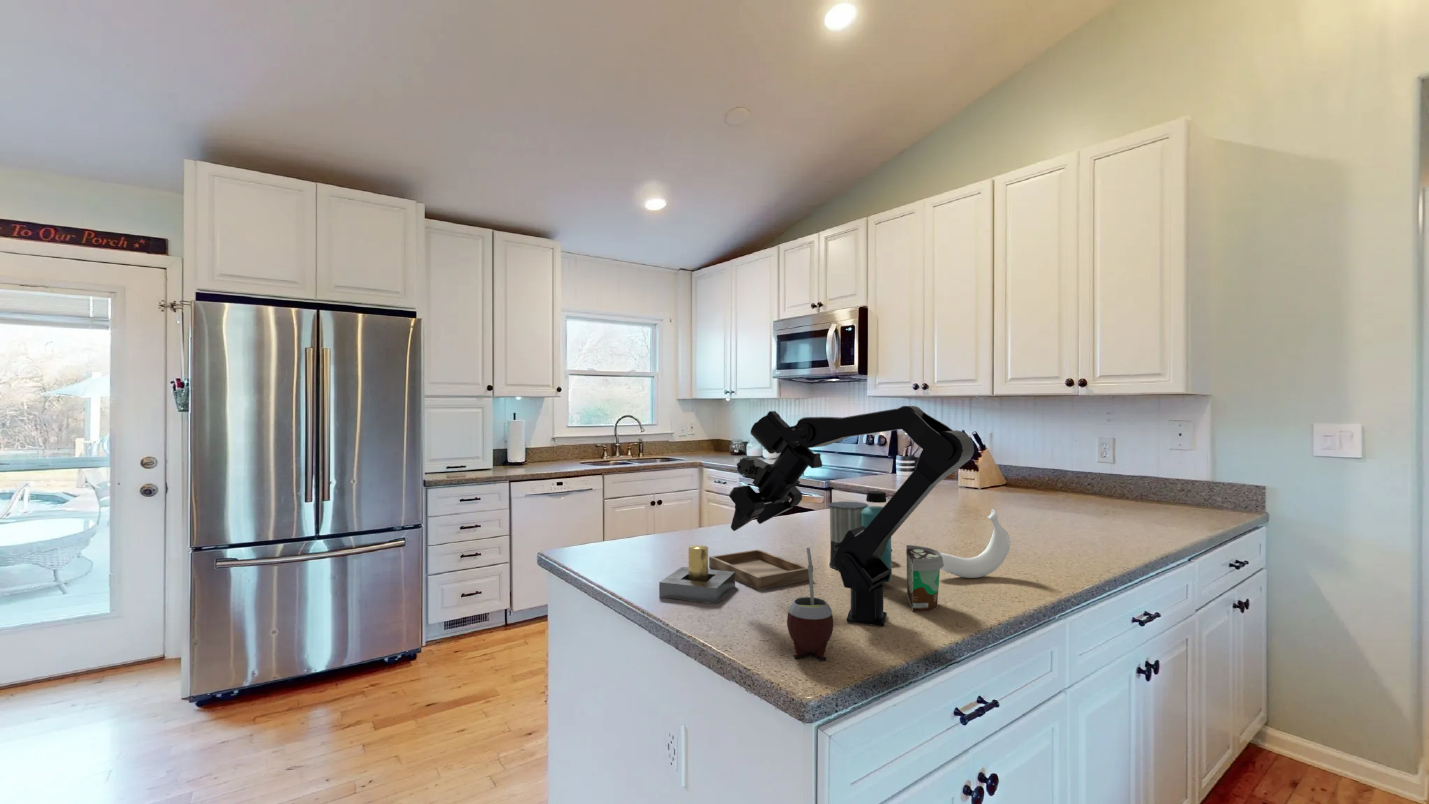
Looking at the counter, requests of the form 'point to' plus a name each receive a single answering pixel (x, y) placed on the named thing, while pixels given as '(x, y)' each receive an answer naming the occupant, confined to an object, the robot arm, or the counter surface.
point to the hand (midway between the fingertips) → (745, 525)
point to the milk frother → (843, 523)
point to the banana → (981, 555)
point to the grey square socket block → (697, 586)
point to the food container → (923, 577)
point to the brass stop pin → (698, 563)
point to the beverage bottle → (870, 514)
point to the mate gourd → (810, 623)
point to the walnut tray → (760, 568)
